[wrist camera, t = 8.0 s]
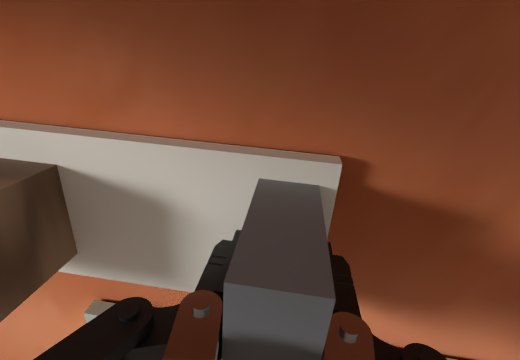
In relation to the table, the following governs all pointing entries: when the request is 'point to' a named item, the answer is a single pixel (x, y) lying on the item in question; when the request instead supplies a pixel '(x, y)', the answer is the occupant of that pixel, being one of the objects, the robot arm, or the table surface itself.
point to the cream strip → (201, 225)
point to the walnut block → (31, 229)
